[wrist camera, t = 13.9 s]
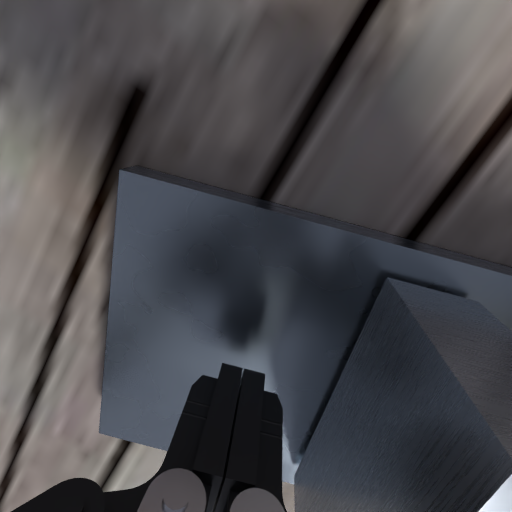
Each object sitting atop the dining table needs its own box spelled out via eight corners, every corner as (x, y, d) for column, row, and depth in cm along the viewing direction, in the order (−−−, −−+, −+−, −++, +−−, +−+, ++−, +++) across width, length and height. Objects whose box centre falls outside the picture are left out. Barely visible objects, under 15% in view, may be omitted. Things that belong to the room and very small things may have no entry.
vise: (112, 411, 15) (-22, 627, 9) (136, 165, 11) (-109, 222, 4) (542, 524, 16) (734, 819, 9) (745, 330, 11) (1459, 641, 4)
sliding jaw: (294, 475, 14) (300, 787, 7) (386, 276, 10) (581, 560, 3) (360, 492, 14) (427, 820, 7) (478, 301, 10) (848, 630, 3)
